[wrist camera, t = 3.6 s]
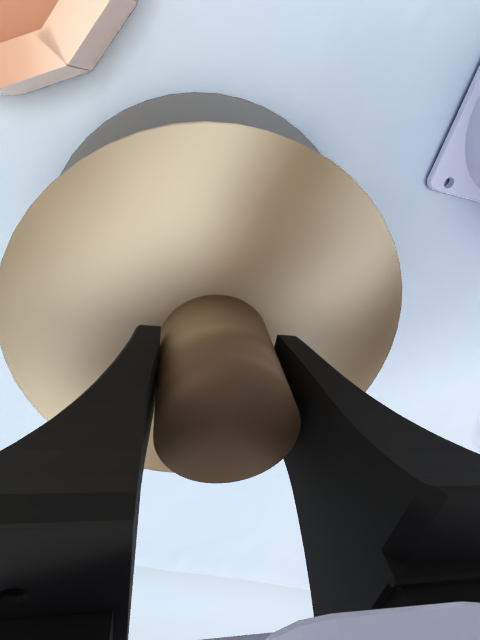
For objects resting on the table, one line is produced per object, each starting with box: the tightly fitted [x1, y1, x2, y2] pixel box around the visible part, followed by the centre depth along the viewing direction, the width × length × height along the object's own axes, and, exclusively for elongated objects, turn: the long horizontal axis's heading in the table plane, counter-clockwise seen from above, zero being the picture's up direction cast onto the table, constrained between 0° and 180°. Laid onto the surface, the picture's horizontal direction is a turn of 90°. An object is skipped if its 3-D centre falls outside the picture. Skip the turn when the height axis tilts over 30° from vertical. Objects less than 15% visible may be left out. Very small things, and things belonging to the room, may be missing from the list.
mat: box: [60, 92, 320, 176], centre depth 20 cm, size 15×15×1 cm
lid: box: [0, 121, 402, 483], centre depth 11 cm, size 13×13×5 cm
